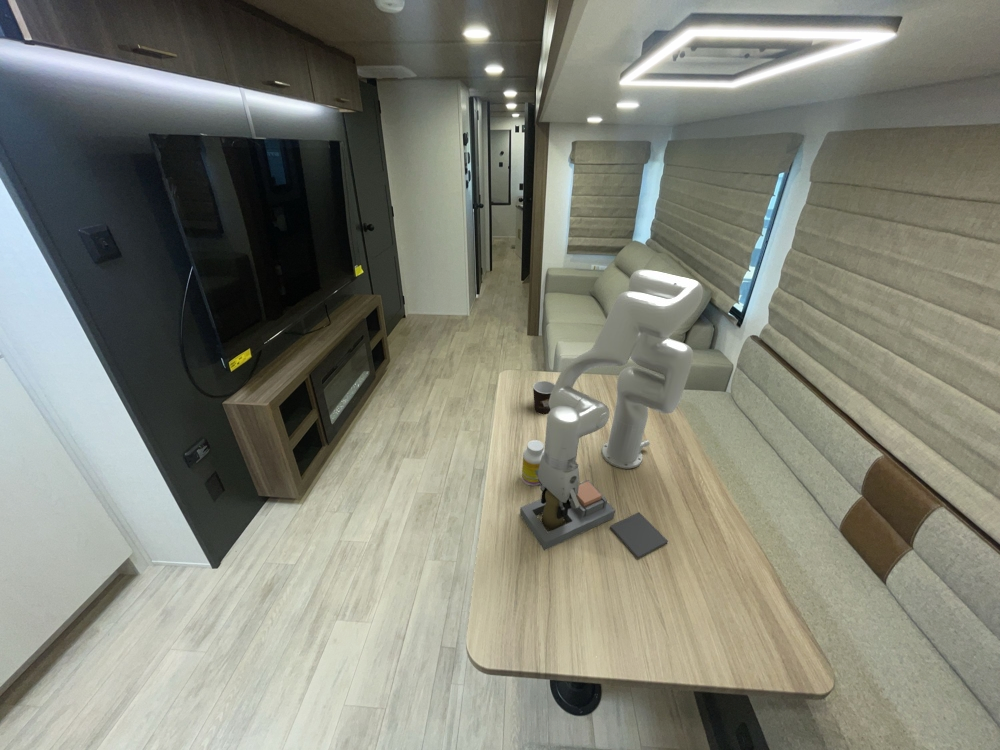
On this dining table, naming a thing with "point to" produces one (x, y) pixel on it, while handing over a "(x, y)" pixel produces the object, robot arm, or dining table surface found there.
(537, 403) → the coffee mug
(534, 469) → the supplement bottle
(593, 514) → the frame
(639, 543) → the rubber mat
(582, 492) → the salmon square block
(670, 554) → the dining table surface
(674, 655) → the dining table surface
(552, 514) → the brown pawn
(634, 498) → the dining table surface
